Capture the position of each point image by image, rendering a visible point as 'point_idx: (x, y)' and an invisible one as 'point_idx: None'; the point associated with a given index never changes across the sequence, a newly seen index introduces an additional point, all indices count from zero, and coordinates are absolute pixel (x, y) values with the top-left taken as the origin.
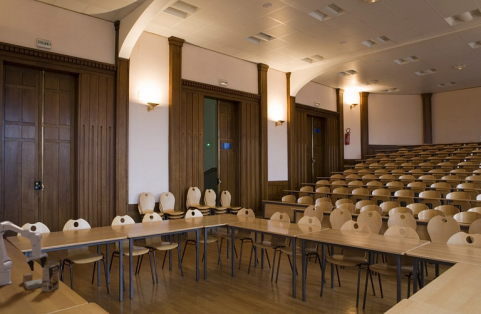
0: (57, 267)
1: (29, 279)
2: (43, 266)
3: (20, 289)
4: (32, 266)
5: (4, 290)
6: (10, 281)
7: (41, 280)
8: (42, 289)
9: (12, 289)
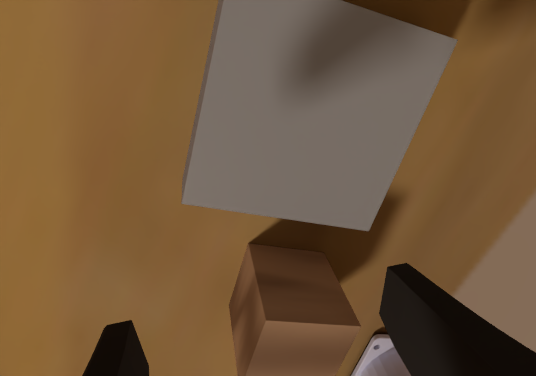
0: None
1: (287, 276)
2: (122, 345)
3: (452, 116)
4: (520, 347)
5: (521, 209)
6: (360, 373)
7: (204, 126)
8: None
9: (479, 182)
